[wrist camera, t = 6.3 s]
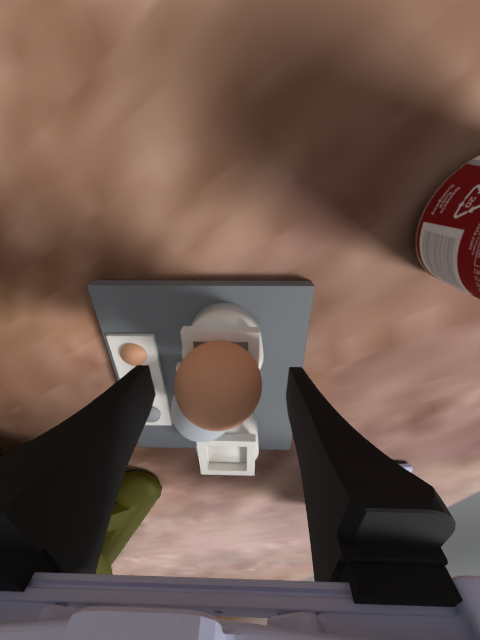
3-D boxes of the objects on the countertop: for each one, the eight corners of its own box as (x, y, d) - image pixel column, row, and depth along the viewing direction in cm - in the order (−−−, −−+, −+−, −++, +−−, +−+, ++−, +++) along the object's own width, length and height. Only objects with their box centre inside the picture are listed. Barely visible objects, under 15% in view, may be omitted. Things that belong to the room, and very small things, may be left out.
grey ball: (237, 404, 20) (234, 457, 16) (183, 403, 20) (167, 456, 16) (236, 361, 18) (233, 410, 14) (176, 360, 18) (156, 409, 14)
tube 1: (260, 362, 18) (262, 395, 15) (194, 362, 18) (184, 394, 15) (262, 302, 15) (265, 327, 13) (186, 302, 15) (174, 326, 13)
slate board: (288, 440, 23) (291, 456, 22) (143, 437, 24) (137, 453, 22) (310, 280, 16) (317, 289, 14) (95, 279, 16) (80, 288, 15)
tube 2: (256, 441, 22) (258, 477, 19) (203, 440, 22) (197, 476, 19) (258, 404, 20) (260, 438, 17) (199, 403, 20) (191, 437, 17)
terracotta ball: (258, 385, 15) (263, 451, 12) (188, 385, 15) (170, 451, 12) (260, 324, 13) (268, 381, 9) (180, 324, 13) (154, 381, 9)
